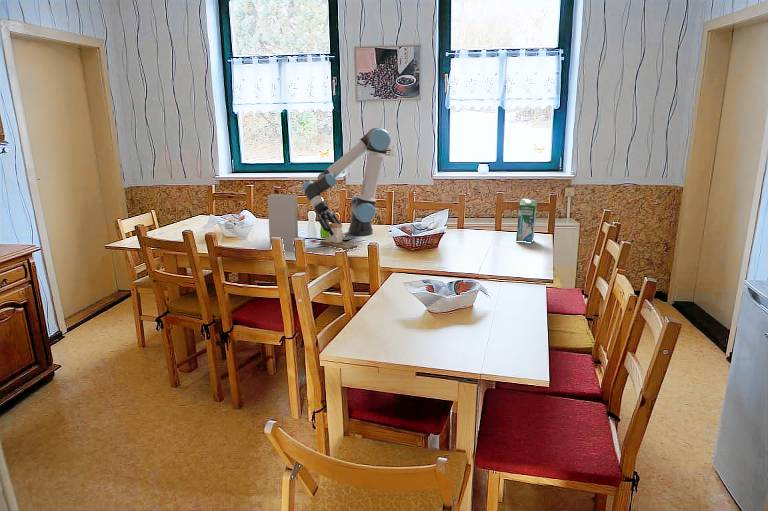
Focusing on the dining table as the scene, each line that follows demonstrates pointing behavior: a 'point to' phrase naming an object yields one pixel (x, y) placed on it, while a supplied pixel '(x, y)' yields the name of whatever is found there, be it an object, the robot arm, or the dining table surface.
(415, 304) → the dining table surface
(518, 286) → the dining table surface
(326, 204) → the robot arm
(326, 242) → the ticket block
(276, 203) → the tall grey block
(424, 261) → the dining table surface
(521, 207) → the milk carton
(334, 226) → the stub
